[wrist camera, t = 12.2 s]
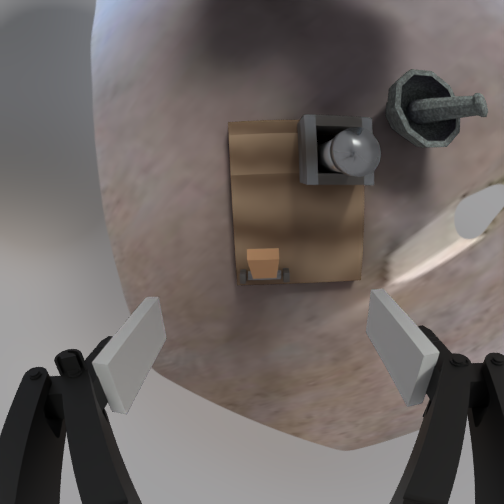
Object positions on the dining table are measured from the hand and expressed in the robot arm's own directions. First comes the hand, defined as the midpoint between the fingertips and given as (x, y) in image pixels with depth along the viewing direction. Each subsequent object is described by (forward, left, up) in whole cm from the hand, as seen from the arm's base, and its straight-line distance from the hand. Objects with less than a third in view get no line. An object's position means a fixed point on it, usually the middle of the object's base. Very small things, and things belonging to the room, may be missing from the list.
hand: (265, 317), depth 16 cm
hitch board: (-4, +4, -22) cm, 23 cm away
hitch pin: (-9, +8, -23) cm, 26 cm away
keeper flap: (+2, 0, -16) cm, 16 cm away
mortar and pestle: (-16, +20, -23) cm, 34 cm away
